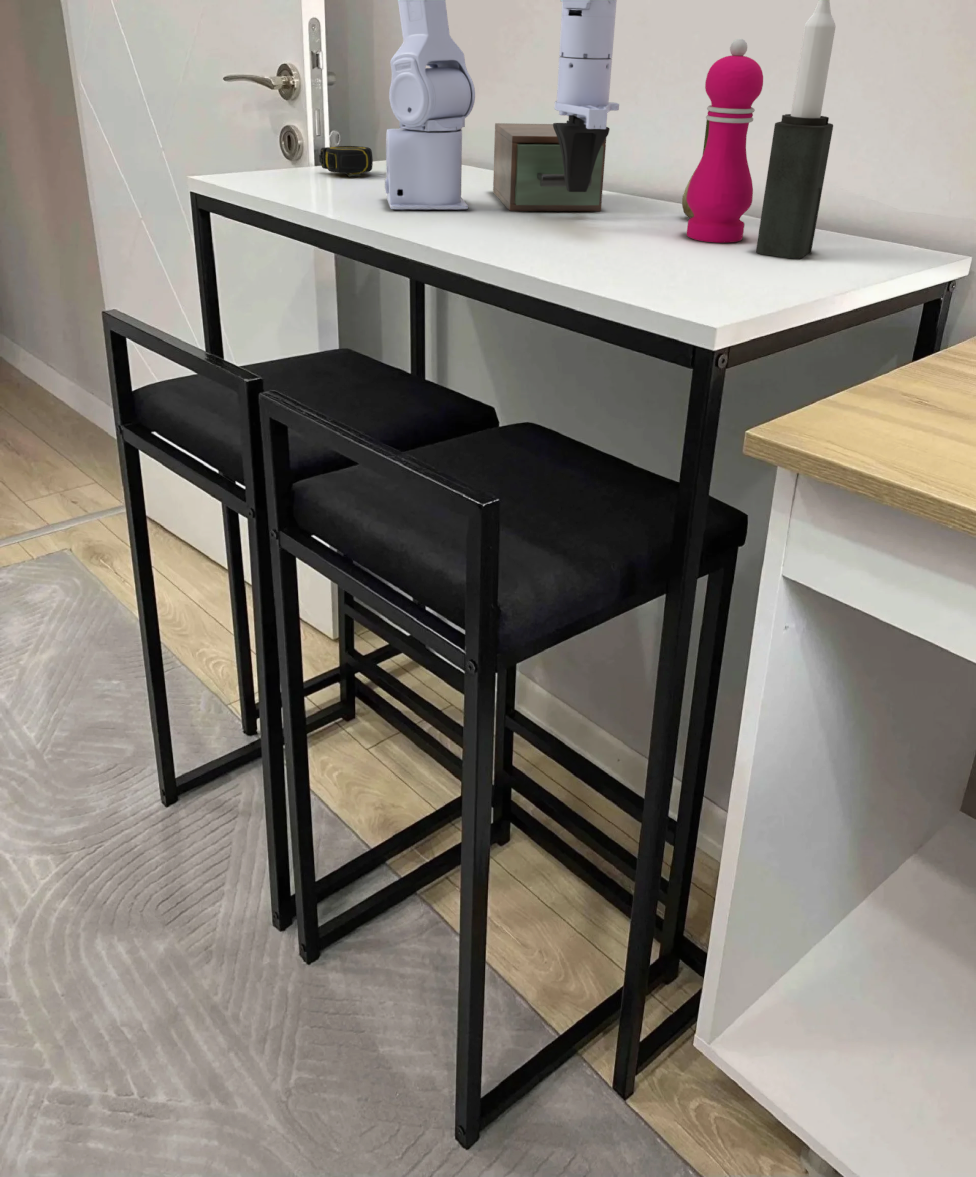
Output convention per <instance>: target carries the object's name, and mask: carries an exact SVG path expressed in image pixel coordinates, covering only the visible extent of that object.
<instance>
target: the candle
mask: <svg viewBox="0 0 976 1177" xmlns="http://www.w3.org/2000/svg"><path fill="white" fill-rule="evenodd" d="M835 33H836V22H835V20H834V18H833V15H832V10H831V3H830V0H818V1H817V4H816V7H815V9H814V11H813V13H812V14H811V16H810V17H809V18H808V19H807V21H806V22H805V24H804V27H803V33H802V41H801V45H800V46H801V47H800V53H799V60H798V64H797V65H798V66H797V72H796V80H795V85H794V91H793V98H792V104H791V111H790V113H785V114H782V115H781V121H776V122H775V123H774V128H773V135H772V141H771V146H770V153H769V161H768V167H767V173H766V180H765V181H766V182H765V188H764V194H763V202H762V208H761V213H760V214H761V215H760V221H759V227H758V233H757V234H758V235H757V240H756V248H755V253H756V254H759V255H763V256H771V257H778V258H785V259H803V258H804V257H805V256H806V255H810V254H812V251H813V246H814V241H815V240H814V239H815V233H816V228H817V222H818V217H819V211H820V204H821V201H822V200H821V199H822V194H823V189H824V188H823V187H824V183H825V182H824V181H825V176H826V171H827V164H828V159H829V155H830V154H829V153H830V149H831V148H830V147H831V141H832V136H833V132H834V131H833V130H834V124H833V123H831V122H829V120H830V117H829V116H824V115H822V110H823V106H824V105H823V103H824V97H825V92H826V86H827V81H828V73H829V69H830V62H831V58H832V57H831V56H832V51H833V46H834V45H833V44H834V39H835Z"/></svg>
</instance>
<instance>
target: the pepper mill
mask: <svg viewBox="0 0 976 1177" xmlns="http://www.w3.org/2000/svg"><path fill="white" fill-rule="evenodd" d="M747 51H748V44H747V42H746V40H745V39H743V38H735V39H734V40H733V41H732V42H731V44H730V47H729V52H730V54H731V55H727V56H723V57H721V58H718V59H717V60H716V61H714V63H713V64H712V65H711V66H710V68H709V70H708V71H707V73H706V78H705V83H704V85H705V86H704V90H705V93H706V95H707V96H708V98H709V100H710V105H708V106H707V107H706V110H707V115H706V116H705V119H706V121H707V120H709V134H708V139H707V144H706V148H705V151H704V154H703V153H702V156H701V159H700V160H701V161H700V160H699V163H698V165H697V166H696V168H695V170H694V171H695V172H694V171H693V173H694V174H693V173H692V175H693V176H692V175H691V176H692V178H691V177H690V178H691V181H690V183H689V186H688V191H687V197H686V198H687V203H688V205H689V207H690V209H691V210H692V212H693V214H694V217H692V218H690V217H689V219H688V220H687V228H686V237H688V238H690V239H692V240H694V241H700V242H706V243H717V244H718V243H719V244H726V243H727V244H728V243H736V242H740V241H741V240H742V239H743V238H744V232H745V230H744V229H745V223H744V221H742V220H741V218H742V216H743V215H744V214H745V213H746V212H748V210H749V209H750V208H751V206H752V203H753V198H754V197H753V196H754V194H753V193H754V187H753V186H754V185H753V179H752V174H751V170H750V167H749V166H750V165H749V163H748V156H747V136H748V130H749V126H750V123H752V122H753V121H754V118H753V116H754V113H755V111H756V110H755V107H752V105H753V103H755V101H756V100H757V99H758V98H759V97H760V95H761V93H762V91H763V87H764V74H763V70H762V68H761V66H760V64H759V63H758V62H757V61H756V60H755V59H753V58H752V57H749V56H746V53H747Z"/></svg>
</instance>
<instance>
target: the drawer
mask: <svg viewBox="0 0 976 1177" xmlns="http://www.w3.org/2000/svg"><path fill="white" fill-rule="evenodd" d="M602 159H603V146H601V148H600V151H599V153H598V156H597V158H596V161H595V165H594V168H593V172H592V176H591V180H590V183H589V186H588V189H587V192H569V191H568V190H567V188H566V183H565V176H564V167H563V159H562V153H561V148H560V145H559V143H518V144H517V159H516V185H515V204H516V205H599V199H600V186H601V173H602Z"/></svg>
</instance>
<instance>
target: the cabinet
mask: <svg viewBox="0 0 976 1177" xmlns="http://www.w3.org/2000/svg"><path fill="white" fill-rule="evenodd" d="M518 143H559V141H558V138H557V135H556V133H555V130H554V128H553V123H505V122H504V123H502V122H501V123H500V122H498V123H497V122H495V123H494V144H493V148H494V149H493V180H492V181H493V182H492V183H493V184H492V186H493V187H492V193H493V195H495V197H496V198H497V199H498V200H499V201H500V202H501V203H502V204H503V205H504V207H506V209H507V210H508V211H510V212H601V211H602V202H603V201H602V200H603V186H604V177H605V176H604V174H605V161H606V149H607V138H606V139H605V140H604V142H603V144H602V146H603V159H602V173H601V186H600V199H599V205H516V204H515V185H516V159H517V144H518Z"/></svg>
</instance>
